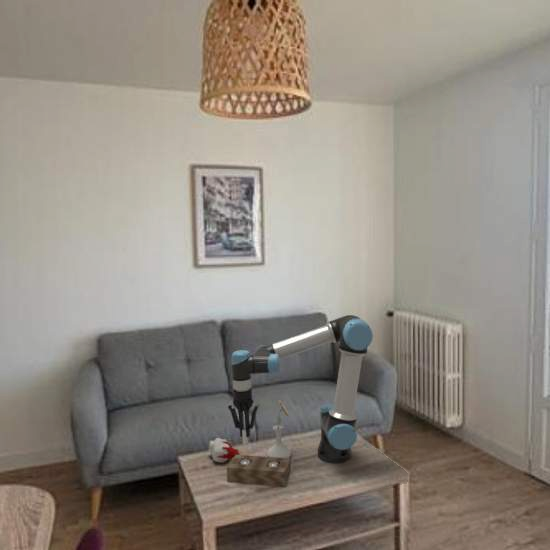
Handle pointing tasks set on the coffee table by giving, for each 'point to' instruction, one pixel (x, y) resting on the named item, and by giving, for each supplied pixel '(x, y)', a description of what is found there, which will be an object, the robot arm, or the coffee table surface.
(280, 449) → the flower in vase
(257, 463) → the walnut block
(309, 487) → the coffee table surface
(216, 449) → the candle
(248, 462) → the steel peg
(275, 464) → the steel peg
